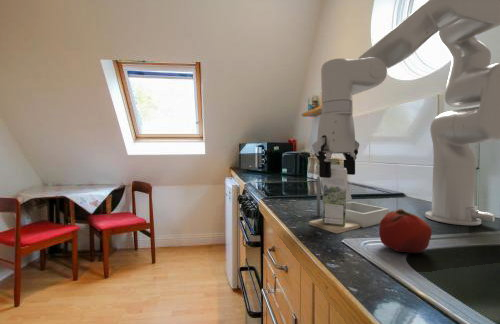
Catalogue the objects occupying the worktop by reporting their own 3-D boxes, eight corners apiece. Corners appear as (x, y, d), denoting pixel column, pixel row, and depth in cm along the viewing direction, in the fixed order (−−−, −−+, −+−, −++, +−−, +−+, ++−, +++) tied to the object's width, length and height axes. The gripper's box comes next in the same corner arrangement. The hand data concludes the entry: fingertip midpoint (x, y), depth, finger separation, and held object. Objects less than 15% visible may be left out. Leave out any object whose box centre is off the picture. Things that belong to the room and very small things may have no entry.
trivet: (359, 227, 65) (359, 224, 65) (336, 233, 60) (336, 230, 60) (331, 219, 72) (331, 216, 72) (309, 224, 67) (309, 221, 67)
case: (388, 221, 71) (390, 179, 71) (359, 228, 64) (360, 181, 63) (344, 210, 84) (345, 174, 83) (315, 216, 76) (316, 176, 76)
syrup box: (345, 221, 68) (346, 167, 67) (345, 226, 62) (347, 168, 62) (323, 219, 70) (324, 167, 69) (321, 224, 64) (323, 167, 64)
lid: (342, 164, 84) (340, 165, 85) (318, 165, 77) (315, 165, 78) (351, 200, 81) (349, 200, 82) (326, 203, 75) (324, 204, 75)
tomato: (413, 242, 54) (414, 206, 54) (443, 261, 45) (444, 217, 45) (369, 241, 55) (370, 205, 55) (389, 259, 46) (391, 215, 45)
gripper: (345, 113, 73) (346, 172, 73) (302, 110, 63) (303, 177, 64) (369, 109, 66) (370, 174, 67) (325, 105, 57) (326, 180, 58)
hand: (337, 175), depth 66 cm, fingers open, 9 cm apart
